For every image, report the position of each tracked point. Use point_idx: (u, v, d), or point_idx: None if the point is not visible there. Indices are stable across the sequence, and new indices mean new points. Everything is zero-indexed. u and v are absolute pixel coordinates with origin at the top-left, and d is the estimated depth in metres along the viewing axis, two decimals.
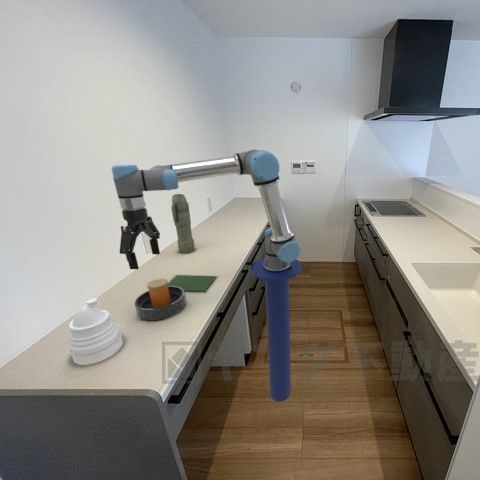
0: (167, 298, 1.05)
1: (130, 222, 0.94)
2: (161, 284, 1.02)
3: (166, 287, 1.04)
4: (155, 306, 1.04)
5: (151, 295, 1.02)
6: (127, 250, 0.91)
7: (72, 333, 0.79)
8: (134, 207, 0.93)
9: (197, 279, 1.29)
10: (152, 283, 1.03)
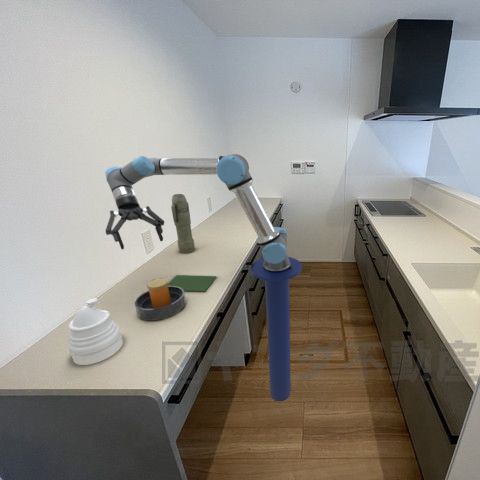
0: (167, 298, 1.05)
1: (118, 209, 1.06)
2: (161, 284, 1.02)
3: (166, 287, 1.04)
4: (155, 306, 1.04)
5: (151, 295, 1.02)
6: (107, 229, 1.00)
7: (72, 333, 0.79)
8: (116, 195, 1.07)
9: (197, 279, 1.29)
10: (152, 283, 1.03)
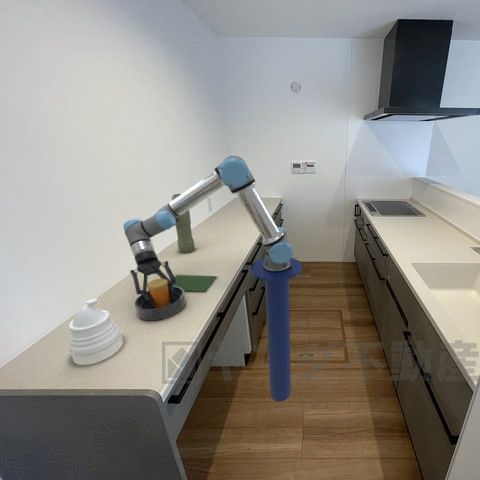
0: (167, 298, 1.05)
1: (137, 265, 1.05)
2: (161, 284, 1.02)
3: (166, 287, 1.04)
4: (155, 306, 1.04)
5: (151, 295, 1.02)
6: (137, 289, 1.01)
7: (72, 333, 0.79)
8: (135, 251, 1.05)
9: (197, 279, 1.29)
10: (152, 283, 1.03)
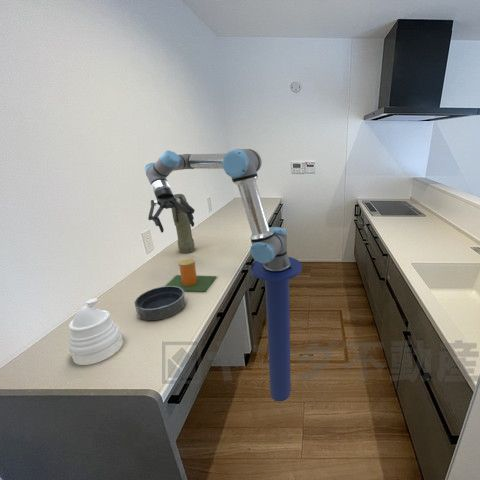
0: (194, 275, 1.24)
1: (157, 199, 1.25)
2: (190, 262, 1.21)
3: (194, 265, 1.23)
4: (184, 281, 1.22)
5: (182, 272, 1.21)
6: (149, 215, 1.19)
7: (72, 333, 0.79)
8: (155, 187, 1.25)
9: (197, 279, 1.29)
10: (182, 262, 1.22)
